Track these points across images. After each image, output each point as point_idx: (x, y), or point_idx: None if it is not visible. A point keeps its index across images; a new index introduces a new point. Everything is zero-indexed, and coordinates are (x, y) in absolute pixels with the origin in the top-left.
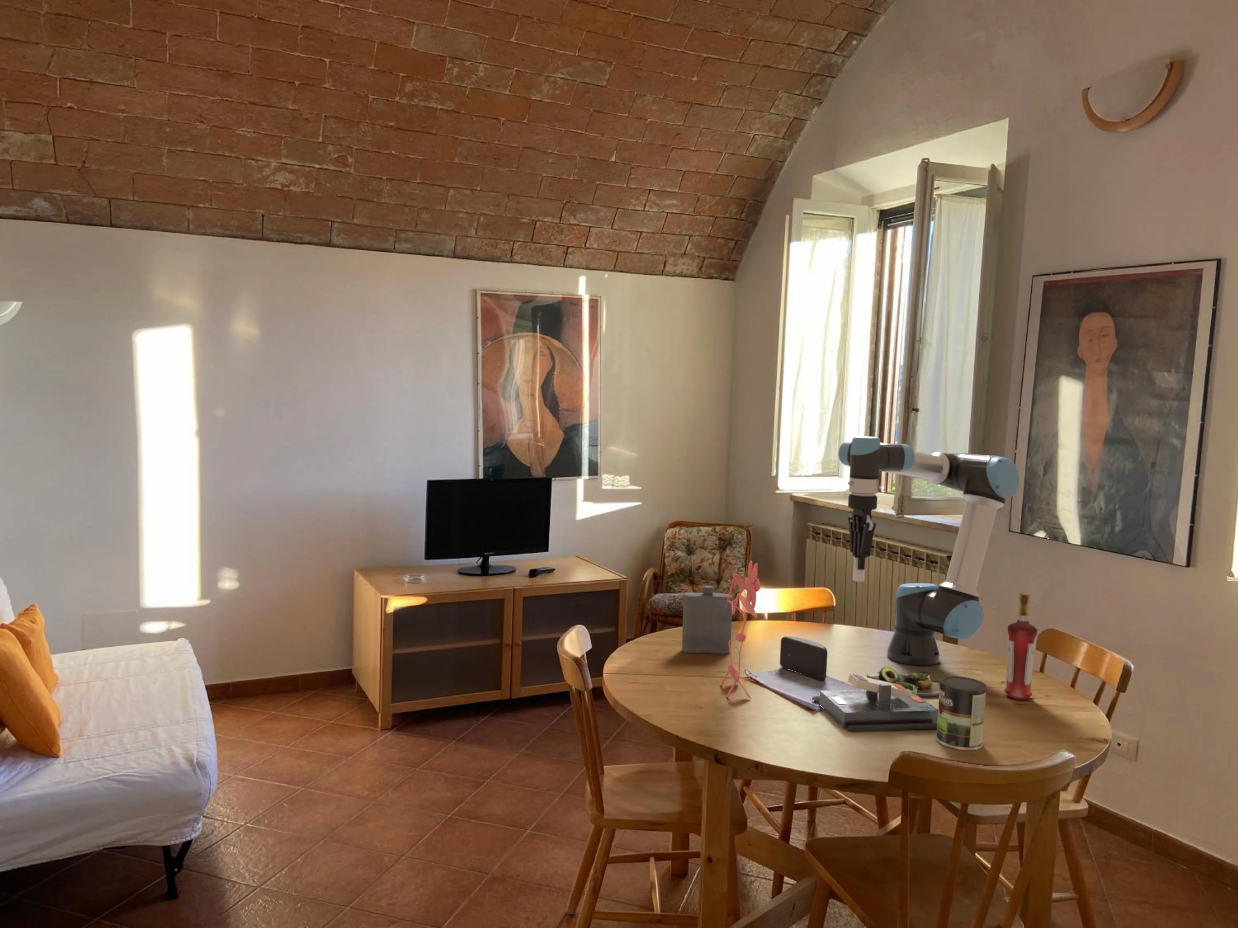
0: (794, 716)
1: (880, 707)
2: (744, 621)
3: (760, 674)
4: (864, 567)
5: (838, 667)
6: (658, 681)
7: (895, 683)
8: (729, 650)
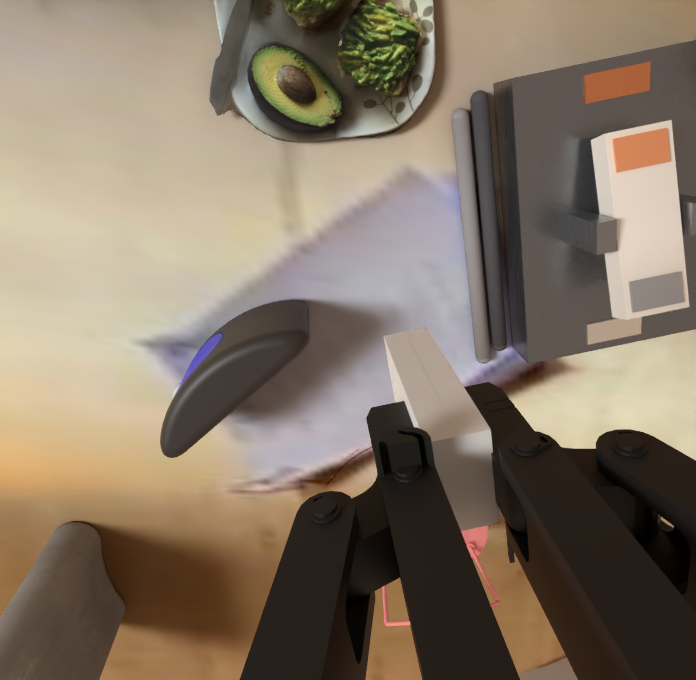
0: (581, 410)
1: None
2: None
3: (271, 459)
4: (504, 393)
5: (141, 233)
6: None
7: (365, 85)
8: (385, 600)
